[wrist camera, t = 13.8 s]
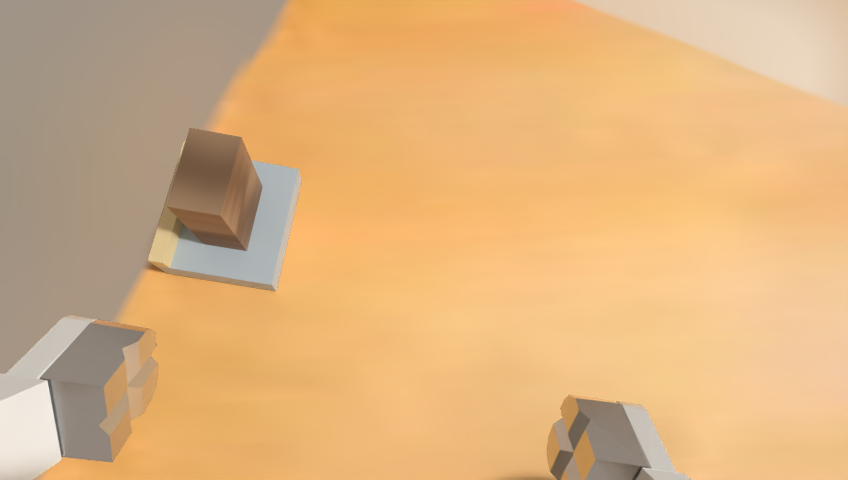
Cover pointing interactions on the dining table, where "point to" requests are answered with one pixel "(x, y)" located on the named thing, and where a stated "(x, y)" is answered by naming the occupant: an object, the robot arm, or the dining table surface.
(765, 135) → the dining table surface
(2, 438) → the robot arm
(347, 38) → the dining table surface
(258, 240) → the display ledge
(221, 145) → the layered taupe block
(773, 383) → the dining table surface
